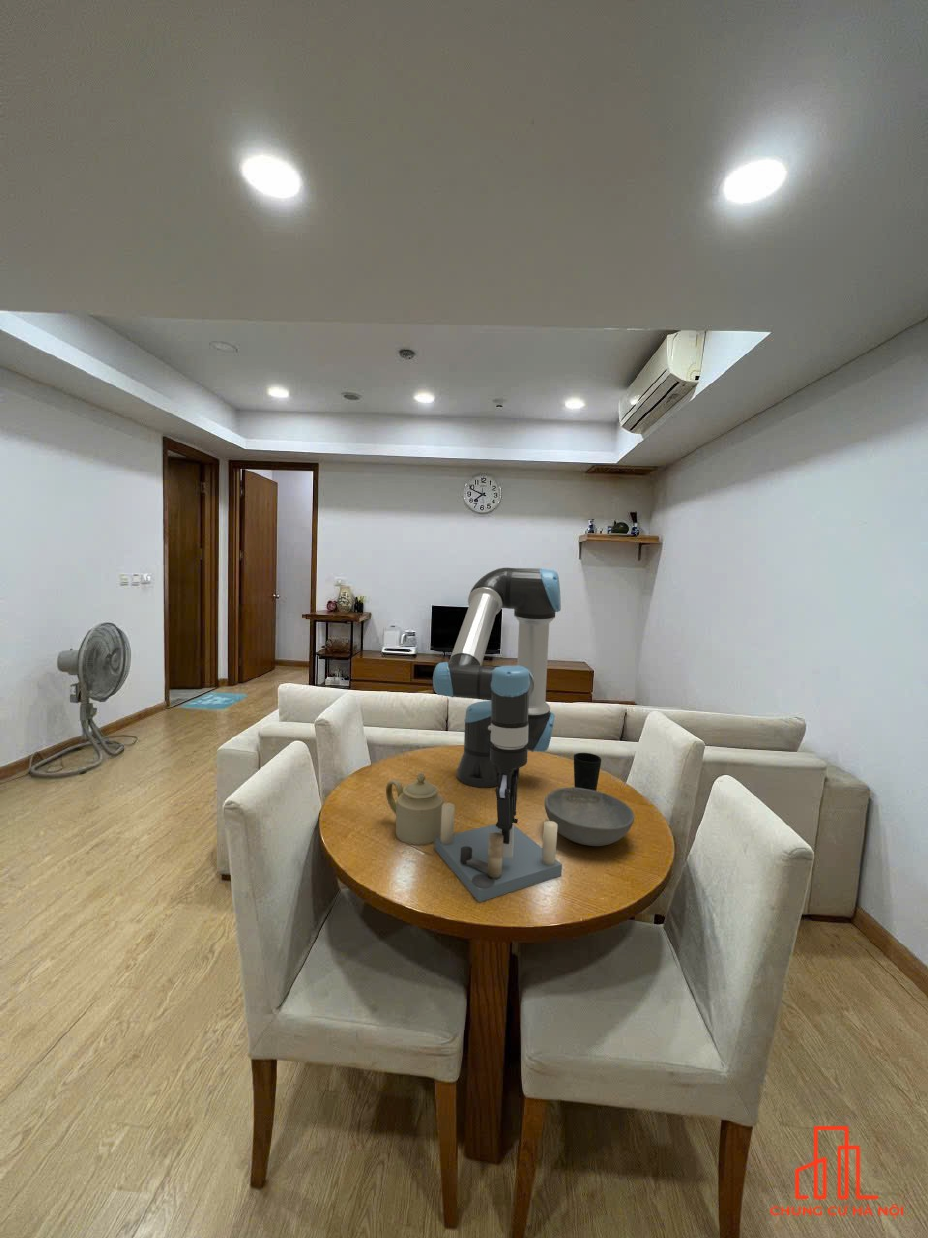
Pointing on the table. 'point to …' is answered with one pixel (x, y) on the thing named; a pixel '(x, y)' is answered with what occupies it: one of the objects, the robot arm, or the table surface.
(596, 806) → the bowl
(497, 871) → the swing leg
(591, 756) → the cup
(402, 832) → the teapot
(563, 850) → the table surface
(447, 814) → the stool seat
